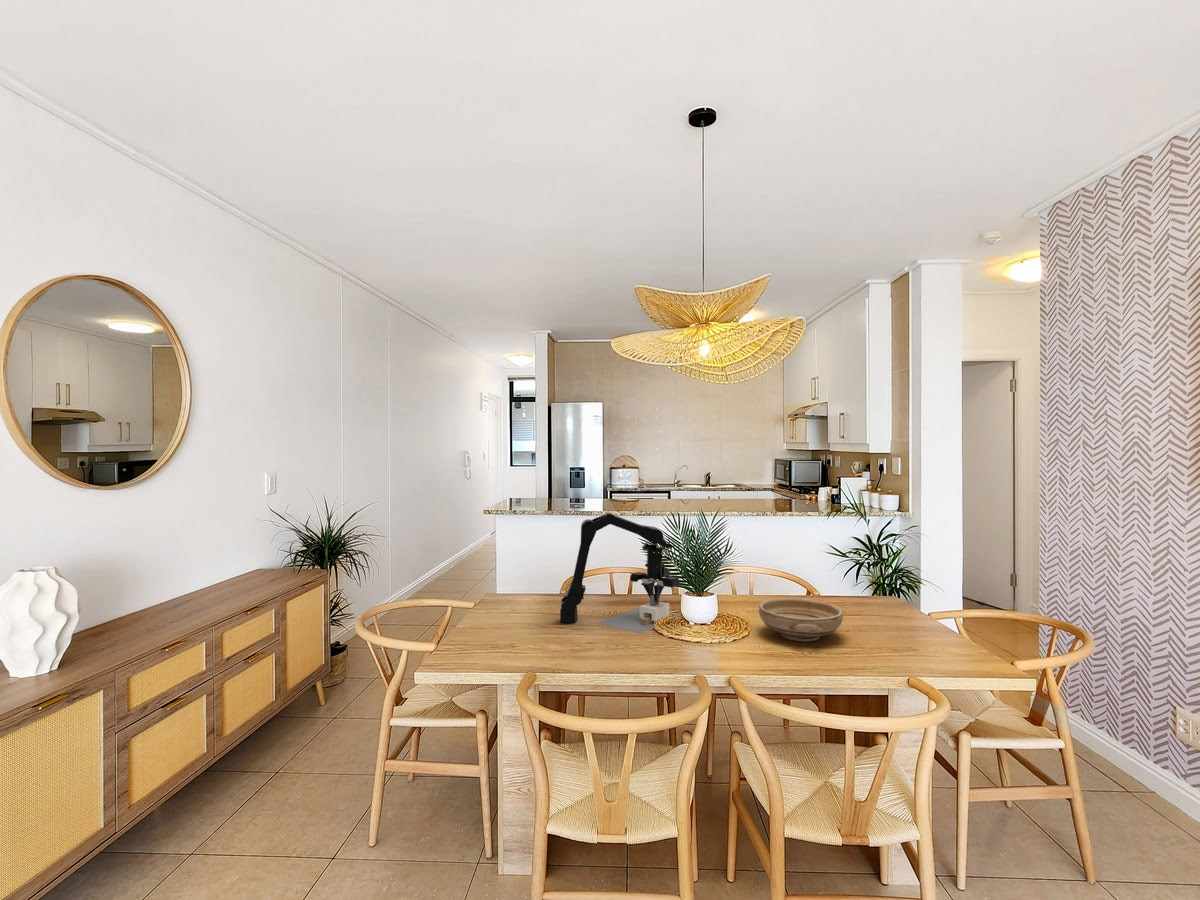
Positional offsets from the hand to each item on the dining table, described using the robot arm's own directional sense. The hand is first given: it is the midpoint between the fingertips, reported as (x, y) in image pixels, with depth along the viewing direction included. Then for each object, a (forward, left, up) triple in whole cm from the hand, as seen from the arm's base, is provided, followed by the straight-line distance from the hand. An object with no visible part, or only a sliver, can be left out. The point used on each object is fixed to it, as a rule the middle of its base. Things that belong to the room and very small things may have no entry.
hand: (654, 602), depth 233 cm
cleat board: (-2, +5, -8) cm, 9 cm away
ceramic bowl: (+16, -50, -8) cm, 53 cm away
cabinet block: (0, 0, -6) cm, 6 cm away
